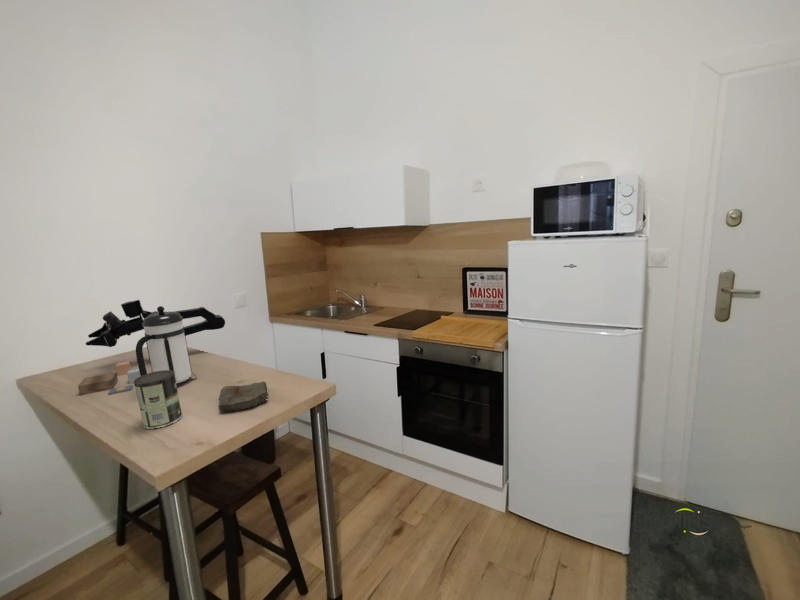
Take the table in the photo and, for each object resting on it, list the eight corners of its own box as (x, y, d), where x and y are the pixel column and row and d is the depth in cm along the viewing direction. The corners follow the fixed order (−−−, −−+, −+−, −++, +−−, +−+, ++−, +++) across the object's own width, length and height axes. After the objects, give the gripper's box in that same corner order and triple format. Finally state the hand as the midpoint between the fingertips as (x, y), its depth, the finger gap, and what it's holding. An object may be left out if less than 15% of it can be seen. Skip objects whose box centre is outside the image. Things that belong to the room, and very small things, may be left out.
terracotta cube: (131, 370, 164) (129, 360, 163) (130, 373, 160) (128, 363, 159) (119, 373, 162) (117, 363, 161) (117, 376, 158) (115, 366, 157)
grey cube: (144, 378, 153) (142, 367, 152) (142, 381, 149) (140, 371, 149) (131, 380, 151) (129, 370, 150) (129, 384, 147) (127, 373, 147)
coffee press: (150, 382, 147) (135, 306, 142) (196, 373, 154) (184, 300, 149) (144, 399, 132) (127, 314, 126) (196, 387, 139) (182, 307, 133)
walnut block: (118, 381, 152) (116, 371, 152) (113, 389, 144) (111, 379, 143) (86, 387, 148) (84, 377, 147) (80, 396, 139) (77, 386, 138)
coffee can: (175, 409, 122) (167, 367, 119) (187, 418, 115) (179, 374, 112) (138, 423, 114) (128, 378, 112) (148, 433, 107) (139, 386, 105)
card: (133, 385, 145) (133, 384, 145) (131, 390, 141) (131, 388, 141) (110, 390, 142) (110, 388, 142) (108, 395, 138) (107, 393, 138)
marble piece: (223, 396, 130) (221, 385, 130) (268, 388, 135) (266, 377, 134) (217, 417, 115) (215, 404, 114) (268, 407, 119) (266, 395, 119)
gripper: (123, 303, 169) (80, 316, 162) (121, 316, 154) (74, 330, 147) (133, 326, 174) (93, 338, 167) (133, 340, 159) (88, 354, 152)
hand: (87, 340), depth 158 cm, fingers open, 9 cm apart
